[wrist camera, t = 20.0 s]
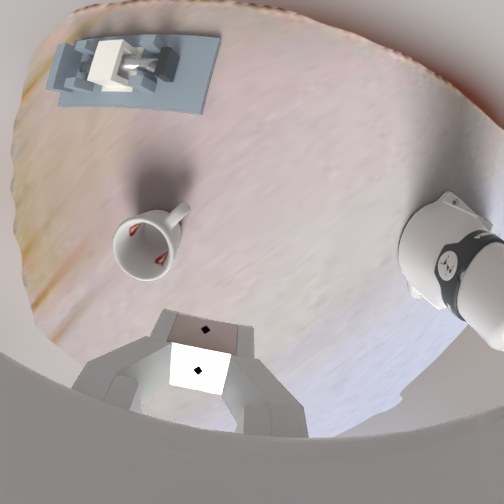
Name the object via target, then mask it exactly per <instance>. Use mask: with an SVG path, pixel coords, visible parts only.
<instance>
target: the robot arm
mask: <svg viewBox="0 0 504 504" xmlns="http://www.w3.org/2000/svg"><path fill="white" fill-rule="evenodd" d="M453 201H454V203H453ZM492 226H493V224H492V223H491V222H490V221H488V220H487V219H485V218H483V217H481V216H479V215H477V214H476V213H475V212H474V211H473V210H472V209H470V208H469V207H468V206H467V205H466V204H465V203H464V202H463V201H462V200H461V199H459V198H458V197H457V196H456V195H455V194H454V193H452V192H450V191H446V192H445V193H444V194H443V195H442V196H441V197H440V198H439V199H438V200H437V201H435V202H433V203H431V204H428V205H426V206H424V207H423V208H421V209H420V210H419V211H417V212H416V213H415V214H414V215H413V217H412V218H411V219H410V220H409V222H408V223H407V225H406V227H405V229H404V231H403V234H402V236H401V240H400V244H399V252H398V258H399V265H400V268H401V271H402V273H403V275H404V276H405V278H406V279H407V281H408V289H409V294H410V295H411V296H412V297H413V298H425V299H426V300H427V301H429V302H430V303H431V304H432V305H433V306H435V307H436V308H437V309H446V308H449V310H450V311H451V312H452V313H453V314H454V315H455V316H456V317H458V318H459V319H461V320H462V321H466V322H468V323H469V325H470V326H471V327H472V328H473V329H474V330H475V331H476V332H477V333H478V334H479V335H480V336H481V337H482V338H483V339H484V340H485V341H486V342H487V344H488V345H489V346H490V347H492V348H494V349H496V350H500V351H504V241H503V240H502V239H500V238H499V237H498V236H496V235H495V234H493V233H491V228H492ZM170 384H172V385H177V386H182V387H187V388H192V389H197V390H202V391H206V392H211V393H216V394H221V396H222V398H223V400H224V401H225V403H226V405H227V407H228V408H229V410H230V412H231V414H232V415H233V417H234V419H235V420H236V422H237V424H238V425H237V427H236V430H235V433H232V432H224V431H218V430H211V429H206V428H200V427H195V426H190V425H185V424H180V423H176V422H171V421H167V420H163V419H159V418H155V417H151V416H148V415H144V414H142V411H141V407H143V406H144V405H145V404H146V403H148V402H149V401H150V400H152V399H153V398H154V397H155V396H157V395H158V394H159V393H161V392H162V391H163V390H164V389H166V388H167V387H168V386H169V385H170ZM0 504H504V406H497V407H494V408H491V409H489V410H486V411H483V412H480V413H477V414H473V415H470V416H467V417H463V418H460V419H456V420H453V421H448V422H445V423H440V424H436V425H431V426H426V427H421V428H416V429H411V430H405V431H399V432H392V433H384V434H375V435H365V436H352V437H332V438H309V436H308V431H307V425H306V419H305V413H304V408H303V406H302V405H301V404H300V403H299V402H298V401H297V400H296V399H295V398H294V397H293V396H292V395H291V394H290V392H289V391H288V390H287V389H286V388H285V387H284V386H283V385H282V384H281V383H280V382H279V381H278V380H277V379H276V378H275V376H274V375H273V374H272V373H271V372H270V371H269V370H268V369H267V368H266V367H265V366H264V364H263V363H262V362H261V361H260V360H259V359H254V328H253V326H246V325H239V324H238V325H237V324H231V323H225V322H219V321H214V320H209V319H206V318H201V317H197V316H193V315H188V314H184V313H180V312H176V311H172V310H167V309H164V310H163V311H162V312H161V314H160V316H159V319H158V321H157V323H156V325H155V327H154V329H153V331H152V333H151V335H150V337H147V336H144V337H142V338H140V339H138V340H136V341H134V342H131V343H129V344H127V345H125V346H123V347H120V348H118V349H116V350H114V351H111V352H109V353H107V354H105V355H102V356H100V357H98V358H96V359H93V360H91V361H89V362H87V364H86V365H85V367H84V369H83V370H82V372H81V373H80V375H79V376H78V378H77V380H76V381H75V383H74V385H73V386H72V388H68V387H66V386H64V385H62V384H60V383H57V382H55V381H53V380H51V379H49V378H47V377H45V376H42V375H41V374H39V373H37V372H35V371H33V370H31V369H29V368H28V367H26V366H24V365H22V364H20V363H19V362H17V361H15V360H13V359H12V358H10V357H8V356H7V355H5V354H3V353H2V352H0Z"/></svg>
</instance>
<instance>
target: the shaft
mask: <svg viewBox="0 0 504 504" xmlns="http://www.w3.org/2000/svg"><path fill="white" fill-rule="evenodd" d="M179 59H180V57H179V56H178V55H177V54H176V52H175V51H174V50H173V49H172V48H171V47H162V48H161V51H160V54H159V57H158V59H155V58H126V59H121V62H120V65H119V69H118V71H146V72H154V75H156V76H157V77H159V78H160V79H161V80H163V81H164V82H173V81H174V77H175V73H176V70H177V66H178V63H179ZM92 61H93V60H91V61H82V62H81V63H80V65H79V72H80V73H89V71H90V68H91V64H92Z"/></svg>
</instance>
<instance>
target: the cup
mask: <svg viewBox="0 0 504 504" xmlns="http://www.w3.org/2000/svg"><path fill="white" fill-rule="evenodd" d="M189 211H190V206H189V205H188V204H187V203H186V202H182V203H181V204H179V205H178V206H177V207H176V208H175V209H174V210H173V211H171V212H170V213H168V212H166V211H163V210H151V211H148V212H145V213H142V214H139V215H137V216H134V217H131V218H129V219H127V220H125V221H124V222H122V223H121V224H120V225H119V227H118V228H117V230H116V232H115V234H114V237H113V253H114V256H115V259H116V261H117V263H118V264H119V266H120V267H121V268H122V270H123V271H124V272H126V273H127V274H128V275H130V276H131V277H133V278H135V279H138V280H143V281H152V280H156V279H158V278H161V277H162V276H164V275H165V274H166V273H167V272H168V271H169V269H170V268H171V266H172V264H173V261H174V259H175V256H176V253H177V251H178V248H179V246H180V242H181V237H182V233H181V227H180V225H179V223H178V222H179V221H180V220H181V219H182V218H183V217H184V216H185V215H186V214H187V213H188V212H189Z"/></svg>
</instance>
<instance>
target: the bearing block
mask: <svg viewBox="0 0 504 504" xmlns="http://www.w3.org/2000/svg"><path fill="white" fill-rule="evenodd" d="M120 39H123V40H125V41H126V42H127V43H129V44H130V45H131V46H132V47H134V48H135V49H136V50H138V54H137V57H122V59H126V58H155V59H158V57H159V54H160V51H161V48H162V47H171V48H172V49H173V50H174V51H175V52H176V54H177V55H178V56H179V57H180V59H179V63H178V66H177V70H176V73H175V77H174V81H173V82H164V81H163V80H161V79H160V78H159V77H157V76H156V75H154V72H146V71H118V72H117V75H118V76H120V77H122V78H124V79H126V80H128V84H127V85H128V87H105V86H102V85H99V84H96V83H93V82H90V81H87V78H88V75H89V73H80V72H79V65H80V63H81V62H82V61H91V60H93V58H94V55H95V52H96V49H97V46H98V43H99V41H106V40H120ZM220 44H221V40H220V38H216V37H206V36H193V35H171V34H145V35H123V36H111V37H101V38H93V39H86V40H79V41H76V42H75V44H74V46H72V45H69V44H67V43H63V44H58V47H57V50H56V53H55V56H54V59H53V63H52V66H51V70H50V73H49V77H48V81H47V85H46V89H47V90H52V91H58V92H61V94H60V98H59V103H58V107H126V108H142V109H155V110H165V111H175V112H183V113H191V114H198V115H202V113H203V109H204V104H205V100H206V96H207V92H208V88H209V84H210V80H211V76H212V73H213V69H214V65H215V62H216V58H217V55H218V51H219V48H220Z"/></svg>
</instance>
